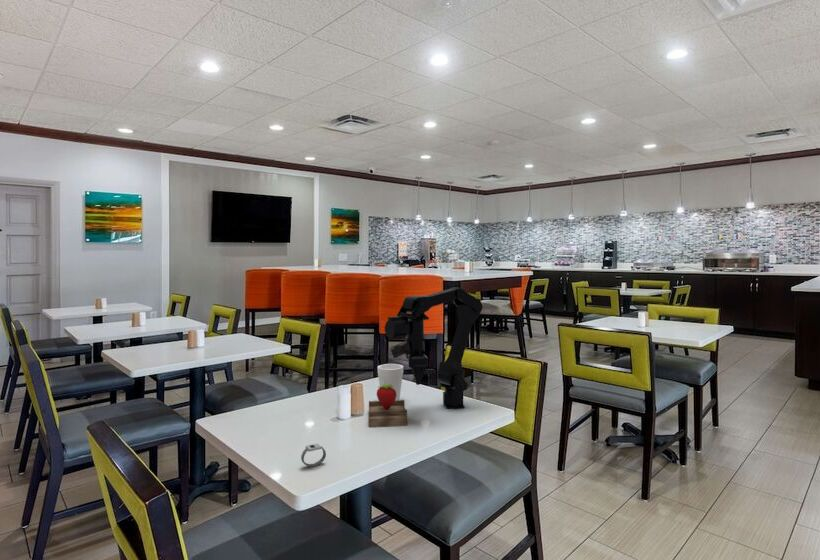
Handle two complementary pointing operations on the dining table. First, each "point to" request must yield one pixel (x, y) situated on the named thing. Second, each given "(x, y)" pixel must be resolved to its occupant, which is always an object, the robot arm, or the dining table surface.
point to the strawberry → (386, 396)
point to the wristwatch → (312, 448)
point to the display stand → (387, 414)
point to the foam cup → (391, 376)
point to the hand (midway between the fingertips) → (416, 380)
